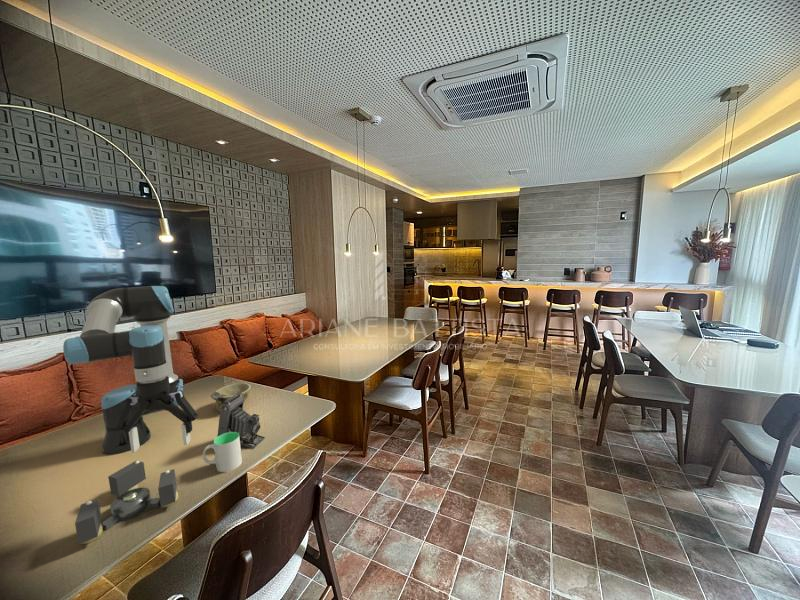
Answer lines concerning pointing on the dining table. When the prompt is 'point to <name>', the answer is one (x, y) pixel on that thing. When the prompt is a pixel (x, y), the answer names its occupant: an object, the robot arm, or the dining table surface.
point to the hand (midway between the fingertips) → (162, 446)
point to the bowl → (230, 393)
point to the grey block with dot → (127, 478)
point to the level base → (130, 505)
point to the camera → (239, 421)
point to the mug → (226, 452)
